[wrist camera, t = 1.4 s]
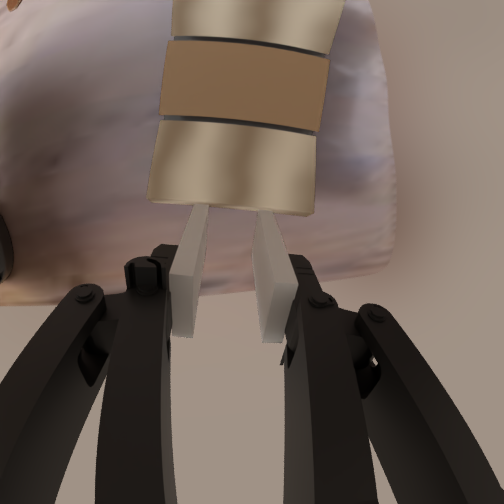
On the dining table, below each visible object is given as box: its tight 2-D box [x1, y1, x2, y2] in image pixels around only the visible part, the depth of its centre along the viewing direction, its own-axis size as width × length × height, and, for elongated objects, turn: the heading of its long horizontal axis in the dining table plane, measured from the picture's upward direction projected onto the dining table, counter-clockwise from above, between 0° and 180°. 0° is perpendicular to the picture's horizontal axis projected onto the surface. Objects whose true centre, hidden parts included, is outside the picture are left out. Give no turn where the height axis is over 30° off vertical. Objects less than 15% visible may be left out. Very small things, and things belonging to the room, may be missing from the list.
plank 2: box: [146, 120, 316, 217], centre depth 23 cm, size 14×7×2 cm, turn 83°
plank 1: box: [171, 0, 345, 55], centre depth 16 cm, size 14×7×2 cm
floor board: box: [159, 36, 330, 136], centre depth 22 cm, size 14×23×4 cm, turn 173°
